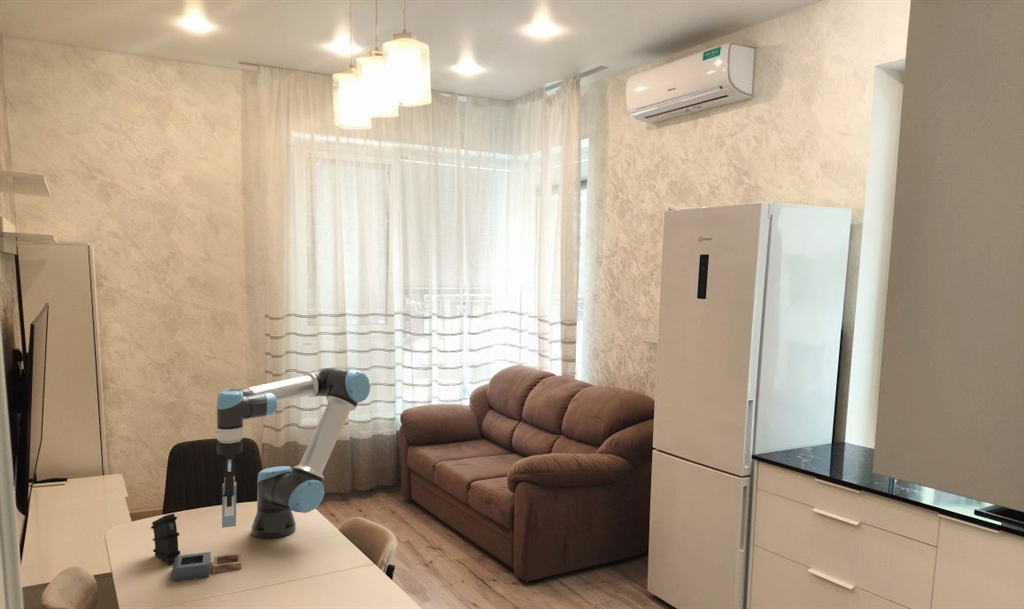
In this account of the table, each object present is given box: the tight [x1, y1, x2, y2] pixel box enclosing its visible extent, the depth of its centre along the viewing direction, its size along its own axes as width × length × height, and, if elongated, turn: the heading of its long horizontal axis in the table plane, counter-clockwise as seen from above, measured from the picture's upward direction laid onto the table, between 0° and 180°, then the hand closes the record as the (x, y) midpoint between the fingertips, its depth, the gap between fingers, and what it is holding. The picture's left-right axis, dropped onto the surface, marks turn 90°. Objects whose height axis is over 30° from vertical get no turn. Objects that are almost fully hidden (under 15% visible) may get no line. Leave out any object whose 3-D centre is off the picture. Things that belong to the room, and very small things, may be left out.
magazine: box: [150, 513, 181, 566], centre depth 207 cm, size 4×13×15 cm, turn 51°
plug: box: [221, 475, 237, 528], centre depth 203 cm, size 4×4×15 cm
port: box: [171, 551, 212, 583], centre depth 198 cm, size 10×10×4 cm
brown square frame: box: [212, 552, 242, 573], centre depth 203 cm, size 8×8×2 cm
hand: (229, 513), depth 203 cm, fingers closed on plug, 4 cm apart
